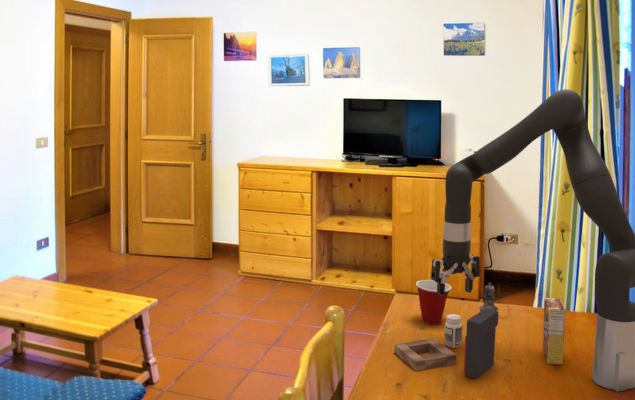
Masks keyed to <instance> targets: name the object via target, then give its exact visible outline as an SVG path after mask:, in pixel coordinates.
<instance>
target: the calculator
mask: <svg viewBox="0 0 635 400" xmlns="http://www.w3.org/2000/svg"><path fill="white" fill-rule="evenodd" d="M465 323H466V324H465V325H466V326H465V337H464V359H463V360H464V362H463V364H464V365H463V373H465V374H464V375H465V377H469V378H471V379H475V380H476V379H477V378H479V377H480V376H482V375H483V374H484V373H485V372H487V371H488V370H489V369H491V367H493V366H494V364H495V351H496V350H495V349H496V348H495V347H496V346H495V345H496V329H497V326H498V325H499V310H498V311H495V310H491V309H486V308H485V309H484V310H482V311H481V312H480V311H479V312H478V313H476V314H474V315H473V316H471V317H470V318H468V319H467V320H466V322H465Z"/></svg>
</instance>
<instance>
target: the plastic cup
mask: <svg viewBox="0 0 635 400" xmlns="http://www.w3.org/2000/svg"><path fill="white" fill-rule="evenodd" d="M444 283H445V296H440V295H439V294H438V293H437V282H435V281H433V280H432V279H421V280H418V281H416V283H415V286H416V288H417V294H418V301H419V307H420V313H421V319H422V322H423V323H425V324H427V323H428V324H429V325H438V323H439V324H441V323H442V320H443V317H444V315H443V314H444V312H445V307H446V302H447V298H448V296H449V292H450V291H451V290H452V286H451V285H450V284H449V283H446V282H444Z"/></svg>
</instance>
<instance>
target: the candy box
mask: <svg viewBox="0 0 635 400" xmlns="http://www.w3.org/2000/svg"><path fill="white" fill-rule="evenodd" d="M543 301H544V303H543V332H542V333H543V334H542V335H543V336H542V352H543V354H544V357H545V361H546V364H549V365H563V364H564V363H563V362H564V361H563V360H564V348H565V347H564V345H565V343H564V342H565V341H564V340H565V339H564V338H565V322H566V319H565V318H566V309H565V308H564V306H563V303H562V302H561V300H560V298H555V297H553V298H551V297H544V300H543Z"/></svg>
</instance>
